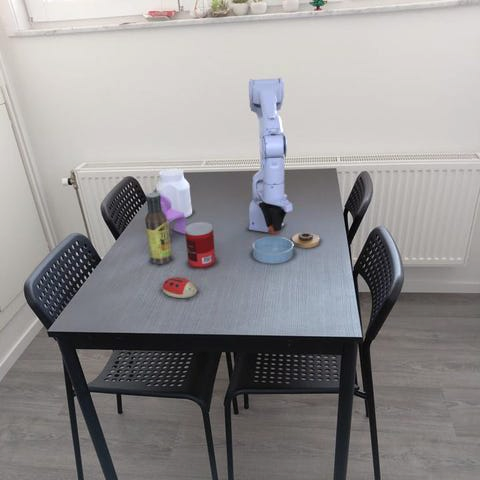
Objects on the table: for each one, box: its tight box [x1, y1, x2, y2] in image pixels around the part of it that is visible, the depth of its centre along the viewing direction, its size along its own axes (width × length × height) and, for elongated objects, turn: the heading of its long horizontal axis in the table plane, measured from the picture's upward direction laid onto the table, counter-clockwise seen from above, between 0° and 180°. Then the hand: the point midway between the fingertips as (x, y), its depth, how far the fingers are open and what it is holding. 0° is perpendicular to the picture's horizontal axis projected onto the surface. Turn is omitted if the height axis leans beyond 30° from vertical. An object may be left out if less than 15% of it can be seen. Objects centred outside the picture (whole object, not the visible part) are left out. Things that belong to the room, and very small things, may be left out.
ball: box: [267, 224, 280, 237], centre depth 138 cm, size 3×3×3 cm
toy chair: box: [160, 194, 187, 235], centre depth 152 cm, size 8×9×15 cm
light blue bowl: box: [251, 236, 295, 265], centre depth 141 cm, size 12×12×3 cm
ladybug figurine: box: [161, 276, 198, 299], centre depth 125 cm, size 7×10×4 cm
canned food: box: [184, 221, 216, 269], centre depth 136 cm, size 8×8×11 cm
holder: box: [291, 232, 320, 249], centre depth 148 cm, size 8×8×2 cm
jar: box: [155, 167, 193, 219], centre depth 168 cm, size 12×10×15 cm
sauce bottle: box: [145, 191, 172, 265], centre depth 136 cm, size 6×6×20 cm
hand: (273, 228), depth 138 cm, fingers closed on ball, 3 cm apart
